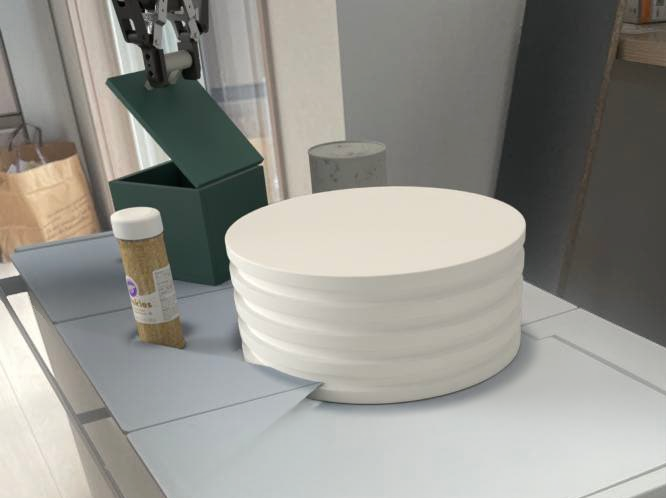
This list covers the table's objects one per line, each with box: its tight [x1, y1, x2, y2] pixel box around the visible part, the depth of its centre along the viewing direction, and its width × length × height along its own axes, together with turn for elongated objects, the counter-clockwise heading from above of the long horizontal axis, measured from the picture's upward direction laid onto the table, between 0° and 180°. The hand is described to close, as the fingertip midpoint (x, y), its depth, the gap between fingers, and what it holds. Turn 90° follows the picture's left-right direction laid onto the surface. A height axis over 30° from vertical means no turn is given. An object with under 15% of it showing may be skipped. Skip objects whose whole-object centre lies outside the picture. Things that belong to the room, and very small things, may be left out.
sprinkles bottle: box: [110, 207, 186, 350], centre depth 82 cm, size 5×5×13 cm
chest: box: [107, 159, 269, 287], centre depth 104 cm, size 14×13×11 cm
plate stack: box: [225, 185, 527, 405], centre depth 82 cm, size 28×28×12 cm
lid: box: [104, 50, 265, 189], centre depth 95 cm, size 14×13×5 cm
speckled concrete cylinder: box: [307, 139, 388, 194], centre depth 105 cm, size 10×10×12 cm
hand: (175, 82), depth 95 cm, fingers closed on lid, 5 cm apart
